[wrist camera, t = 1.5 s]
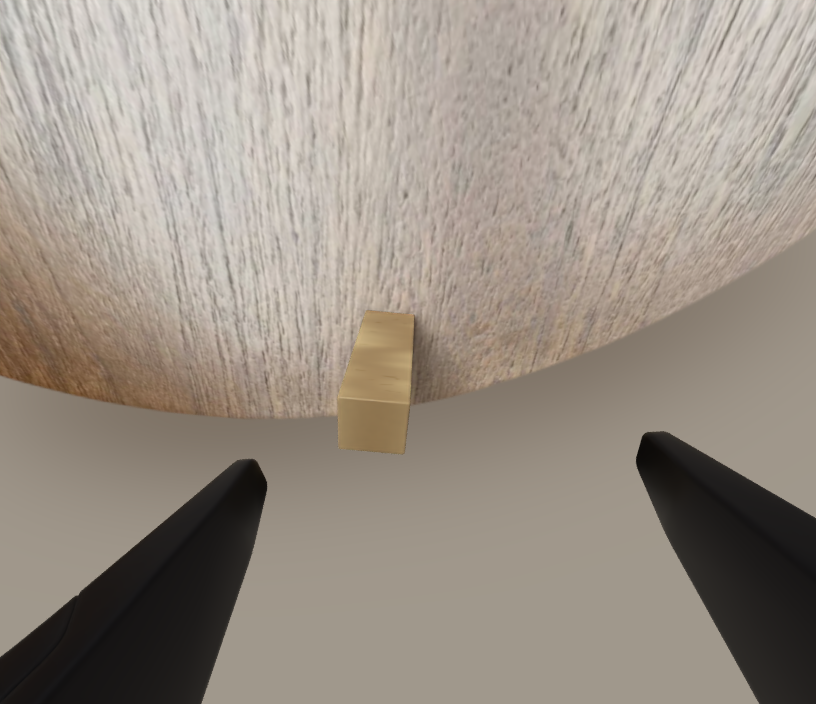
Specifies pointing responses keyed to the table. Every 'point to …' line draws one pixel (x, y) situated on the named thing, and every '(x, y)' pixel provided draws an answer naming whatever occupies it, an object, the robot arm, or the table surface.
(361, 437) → the stick
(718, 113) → the table surface
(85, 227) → the table surface
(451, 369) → the table surface
